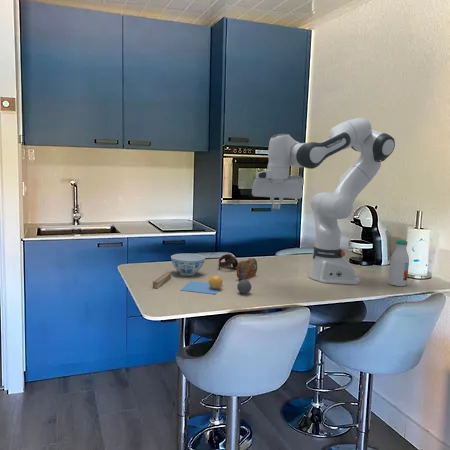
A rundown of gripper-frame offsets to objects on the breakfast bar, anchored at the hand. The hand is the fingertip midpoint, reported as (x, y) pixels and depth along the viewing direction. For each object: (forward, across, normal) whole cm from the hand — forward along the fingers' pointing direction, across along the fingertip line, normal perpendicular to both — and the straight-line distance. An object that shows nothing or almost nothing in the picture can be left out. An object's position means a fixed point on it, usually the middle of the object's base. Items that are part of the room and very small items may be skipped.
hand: (276, 208), depth 184 cm
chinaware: (+32, +38, -6) cm, 51 cm away
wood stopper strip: (+32, +43, +13) cm, 55 cm away
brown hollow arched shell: (+33, +23, -24) cm, 47 cm away
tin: (+33, +12, -10) cm, 36 cm away
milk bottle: (+34, -54, -26) cm, 68 cm away
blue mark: (+32, +26, +13) cm, 44 cm away
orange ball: (+30, +21, +13) cm, 38 cm away
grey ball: (+30, +9, +15) cm, 34 cm away
